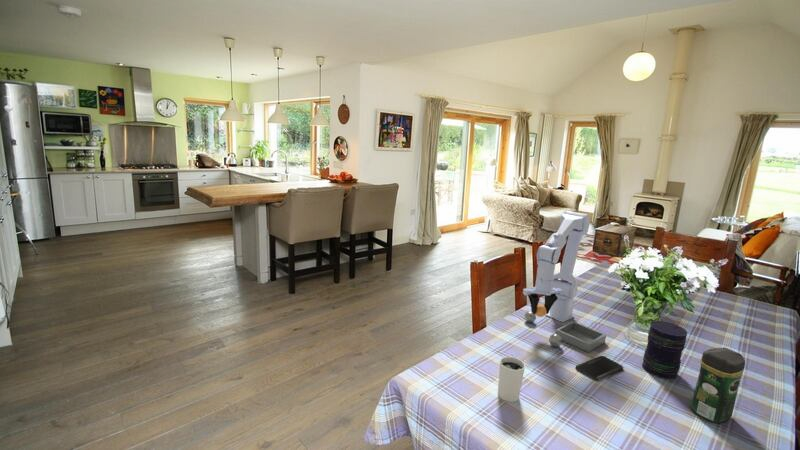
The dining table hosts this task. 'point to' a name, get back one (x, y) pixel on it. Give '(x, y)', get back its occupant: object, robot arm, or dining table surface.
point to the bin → (581, 336)
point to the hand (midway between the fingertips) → (539, 312)
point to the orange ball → (541, 311)
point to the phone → (599, 368)
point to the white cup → (510, 378)
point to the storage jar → (664, 349)
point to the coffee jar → (717, 384)
